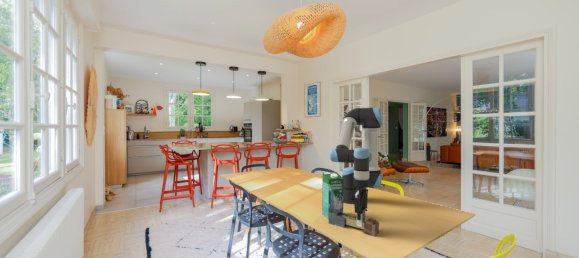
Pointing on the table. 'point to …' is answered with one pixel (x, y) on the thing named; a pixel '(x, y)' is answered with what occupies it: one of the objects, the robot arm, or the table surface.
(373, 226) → the socket
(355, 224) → the slip tube
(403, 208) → the table surface
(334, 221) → the sleeve
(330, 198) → the milk carton
